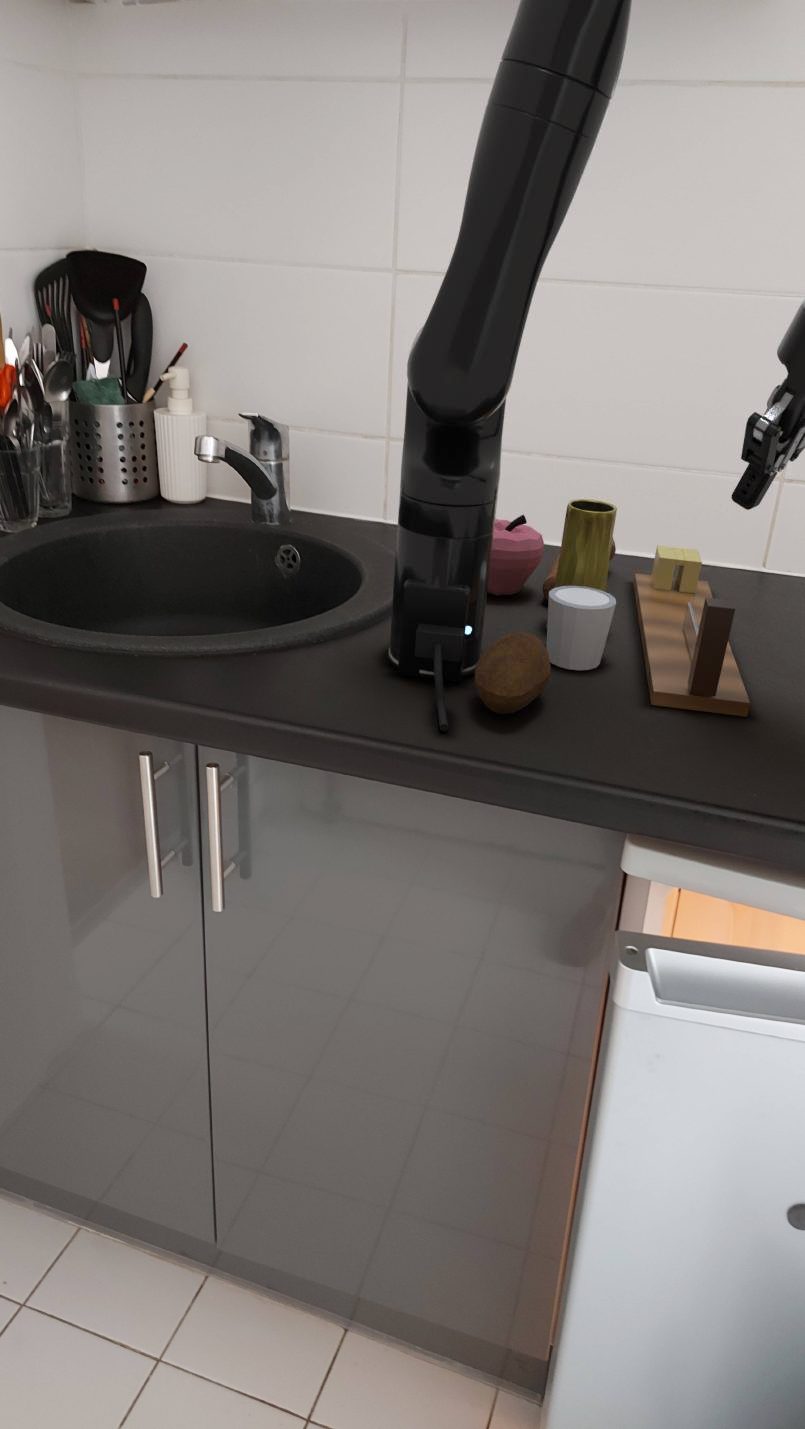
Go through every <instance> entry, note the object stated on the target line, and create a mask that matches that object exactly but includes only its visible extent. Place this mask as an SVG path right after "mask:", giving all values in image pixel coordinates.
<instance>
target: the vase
mask: <svg viewBox="0 0 805 1429" xmlns="http://www.w3.org/2000/svg"><path fill="white" fill-rule="evenodd" d="M617 512H618V508H617V506H615V505H614V504H612V503H610V502H606V501H603V500H597V499H588V498H578V499H572V500H570V501H568V502H567V505H566V510H565V517H564V523H563V525H564V526H563V532H562V536H561V545H560V552H559V555H560V557H559V563H558V569H557V575H556V580H555V587H554V588H557V587H561V586H582V587H589V588H594V589H598V590H601V591H604V592H606V593H607V584H608V576H609V568H610V562H611V561H610V552H611V545H612V537H613V538H614V531H615V524H616V517H617ZM609 561H610V562H609ZM546 622H547V623H546V629H547V627H548V621H546Z"/></svg>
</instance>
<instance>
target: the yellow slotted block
mask: <svg viewBox="0 0 805 1429" xmlns="http://www.w3.org/2000/svg"><path fill="white" fill-rule="evenodd" d="M702 565H703V561H702V558H701V555H700V553H699V550H698V549H691V548H684V547H683V548H682V547H673V546H664V545H656V548H655V553H654V559H653V564H652V571H651V574H650V575H651V576H652V581H653V586H654V589H660V590H669V591H670V590H671V586H672V581H673V577H674V575H675V570H676V575H675V578H676V582H677V585H678V589H679V592H687V593H696V589H697V584H698V580H699V579H700V574H701V569H702ZM676 566H677V569H676Z"/></svg>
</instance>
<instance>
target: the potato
mask: <svg viewBox="0 0 805 1429" xmlns="http://www.w3.org/2000/svg"><path fill="white" fill-rule="evenodd" d="M551 669H552V667H551V663H550V660H549V655H548V652H547V647H546V646H545V645H544V643H543V642H542V640H541V639H540V638H538V637H537V636H536V635H535V634H533V633H532V632H529V631H523V630H518V631H514V632H511V633H508V634H506V635H504V636H502V637H501V638H499V639H498V640H497V641H495V642H493V643H492V644H491V645H490V646H489V647H488V648H487V649H486V650H485V651H484V652H483V653H481V656H480V658H479V660H478V663H477V665H476V668H475V672H474V686H475V690H476V693H477V696H478V697H479V699H480V700H481V701H482V703H483V704H484V705H485V707H486V708H488V710H490V711H491V712H493V713H495V714H499V715H509V714H514V713H516V712H518V711H520V710H522V709H523V708H526V706H528V705H529V704H531V702H532V701H534V700H535V699H536V698H537V697H538V696H539V695H540V694H541V693H542V691H543V690H544V689H545V687H546V686H547V685H548V683H549V681H550V677H551Z"/></svg>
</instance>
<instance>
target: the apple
mask: <svg viewBox="0 0 805 1429" xmlns="http://www.w3.org/2000/svg"><path fill="white" fill-rule="evenodd" d="M527 523H528V522H527V518H526V516H525V515H524V514H522V515H520V516H518V517H516V518H515V519H513V520H512V521H510V520H509V519H498V518H495V527H494V534H493V543H492V553H491V562H490V571H489V580H488V590H487V594H489V595H494V596H497V597H498V596H499V597H500V596H511V595H515V594H516V593H519V592H520V591H521V590H522V588H523V587H524V586H525V584H526V583H527V581H528V579H530V577H531V576H532V575H533V573H534V572H535V570H536V569H537V567H538V566H539V565H540V563H541V561H542V558H543V555H544V552H545V541H544V538H543V535H542V533H540V532H539V531H537V530H536V529H534V528H533V527H532V526H529V525H526V524H527Z"/></svg>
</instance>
